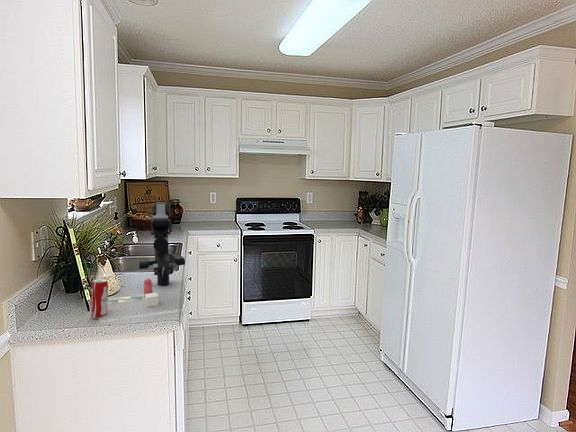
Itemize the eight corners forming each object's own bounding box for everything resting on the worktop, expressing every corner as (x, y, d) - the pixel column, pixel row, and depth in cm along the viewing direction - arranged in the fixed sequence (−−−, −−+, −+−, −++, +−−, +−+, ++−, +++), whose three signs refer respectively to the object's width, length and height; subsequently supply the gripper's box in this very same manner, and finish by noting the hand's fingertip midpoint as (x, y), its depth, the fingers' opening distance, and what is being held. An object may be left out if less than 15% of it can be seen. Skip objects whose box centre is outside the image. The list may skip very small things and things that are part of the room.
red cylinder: (144, 295, 174) (143, 277, 173) (152, 294, 176) (151, 276, 175) (144, 298, 171) (143, 280, 170) (153, 297, 173) (152, 279, 171)
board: (106, 301, 169) (105, 299, 169) (153, 295, 177) (153, 293, 177) (105, 306, 164) (105, 303, 164) (155, 299, 172) (155, 297, 172)
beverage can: (89, 315, 153) (87, 279, 151) (107, 312, 157) (105, 277, 155) (92, 320, 149) (90, 283, 147) (110, 317, 153) (109, 280, 150)
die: (145, 305, 166) (145, 293, 165) (157, 303, 168) (157, 292, 168) (146, 309, 162) (146, 297, 161) (158, 307, 164) (158, 296, 163)
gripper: (139, 252, 152) (140, 290, 154) (187, 248, 160) (187, 284, 162) (137, 246, 162) (138, 281, 164) (182, 243, 170) (183, 277, 172)
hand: (162, 281), depth 165 cm, fingers closed
